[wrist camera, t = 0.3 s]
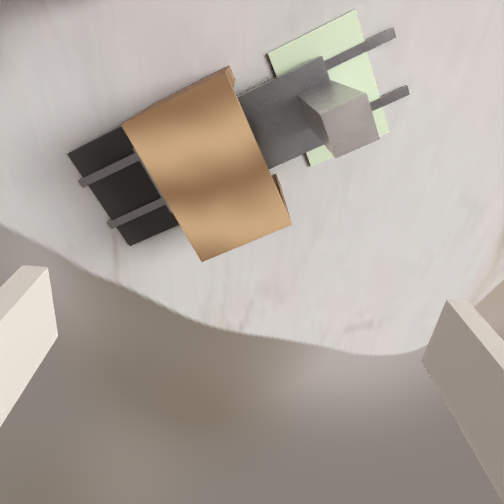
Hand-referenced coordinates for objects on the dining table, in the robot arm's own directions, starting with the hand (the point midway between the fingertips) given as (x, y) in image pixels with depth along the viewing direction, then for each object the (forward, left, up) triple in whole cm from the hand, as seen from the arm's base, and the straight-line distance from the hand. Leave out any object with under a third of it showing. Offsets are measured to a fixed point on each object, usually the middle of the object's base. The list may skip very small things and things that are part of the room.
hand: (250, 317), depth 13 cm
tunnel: (-1, -2, -28) cm, 28 cm away
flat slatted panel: (-1, -12, -28) cm, 30 cm away
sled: (-1, 0, -27) cm, 27 cm away
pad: (-1, +9, -28) cm, 29 cm away
